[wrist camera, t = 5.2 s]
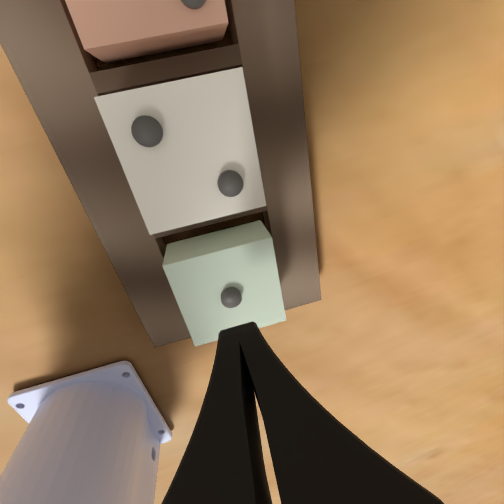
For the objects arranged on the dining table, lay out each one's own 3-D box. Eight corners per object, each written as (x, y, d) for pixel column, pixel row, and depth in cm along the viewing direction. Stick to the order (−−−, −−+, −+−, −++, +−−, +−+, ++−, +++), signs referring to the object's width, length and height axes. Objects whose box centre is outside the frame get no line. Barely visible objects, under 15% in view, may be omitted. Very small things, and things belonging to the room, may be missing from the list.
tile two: (255, 192, 14) (268, 207, 11) (157, 216, 13) (148, 237, 11) (233, 77, 11) (243, 65, 9) (113, 102, 11) (90, 96, 8)
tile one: (274, 294, 17) (287, 323, 14) (194, 317, 16) (195, 350, 14) (260, 219, 14) (273, 239, 12) (167, 243, 14) (161, 269, 11)
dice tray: (311, 286, 19) (321, 299, 18) (157, 330, 18) (154, 347, 17) (259, -201, 9) (271, -259, 8) (-78, -161, 8) (-133, -219, 7)
